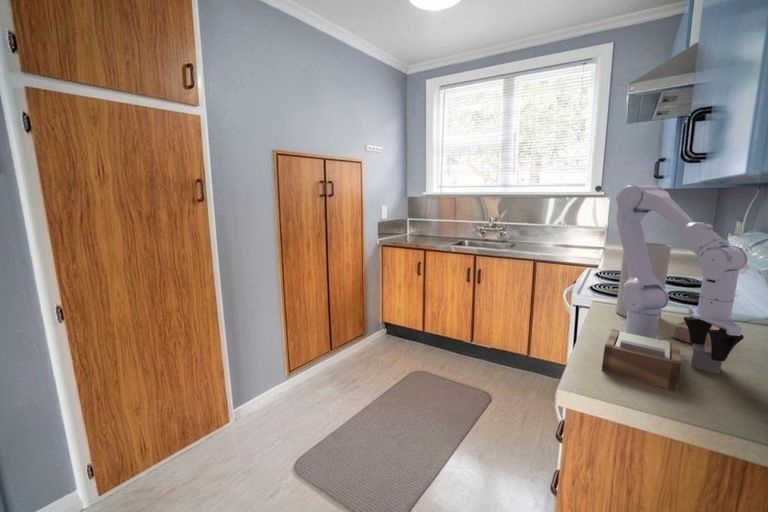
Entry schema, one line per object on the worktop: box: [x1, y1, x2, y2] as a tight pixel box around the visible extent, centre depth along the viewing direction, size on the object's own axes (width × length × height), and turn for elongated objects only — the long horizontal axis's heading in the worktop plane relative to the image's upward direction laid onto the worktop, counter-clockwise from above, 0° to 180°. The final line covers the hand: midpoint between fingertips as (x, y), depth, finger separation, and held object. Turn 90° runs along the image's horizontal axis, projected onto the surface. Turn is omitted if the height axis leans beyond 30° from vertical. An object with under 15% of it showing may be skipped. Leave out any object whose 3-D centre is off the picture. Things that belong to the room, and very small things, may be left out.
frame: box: [601, 328, 682, 392], centre depth 81 cm, size 14×14×6 cm
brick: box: [673, 320, 719, 347], centre depth 100 cm, size 16×8×5 cm, turn 126°
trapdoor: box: [615, 331, 671, 359], centre depth 81 cm, size 12×10×2 cm
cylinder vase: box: [615, 242, 672, 320], centre depth 117 cm, size 12×12×25 cm
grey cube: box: [689, 343, 723, 375], centre depth 82 cm, size 4×5×5 cm
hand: (707, 353), depth 81 cm, fingers open, 7 cm apart
